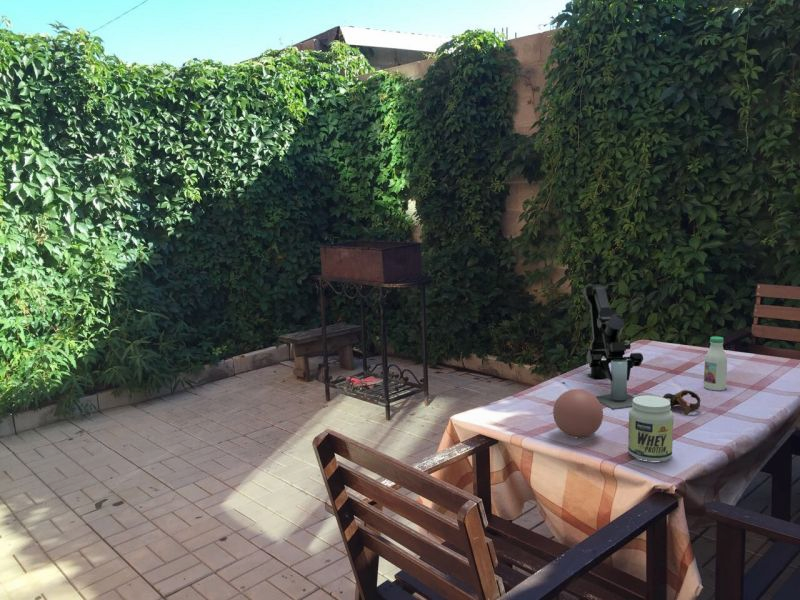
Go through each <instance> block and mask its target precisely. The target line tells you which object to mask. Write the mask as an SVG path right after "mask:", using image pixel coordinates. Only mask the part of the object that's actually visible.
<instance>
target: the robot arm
mask: <svg viewBox="0 0 800 600" xmlns="http://www.w3.org/2000/svg"><path fill="white" fill-rule="evenodd" d="M582 292H583V296H584V298H585V303H587V305H588V306H589V310H590V311H589V312H590V323H591V324H590V325H591V335H592V341H591V343H590V345H589V348H588V351H587V354H586V362H587V363H588V365H589V366H588V367H589V368H590V373H588V374H587V376H588V375H589V377H590V376H591V378H592V377H593V379H594V378H595V379H594V380H599V379H598V378H601V379H607V378H608V380H609V381H610V382H611V381H612V375H611V367H610V364H611V360H614V359H622V360H626V361H627V382H629V380H630V375H631V369H632V368H634V367H640V366H641V364H642V363H643V361H644V355H643V354H642V353H641V352H631V353H630V355H629V356H625V352H627V350H630V349H632V348H631V342H630V339H629V340H628V339H627V340H625V339H624V340H623V341H621V339H620V336H621V334H622V332H623V329H624V327H625V322H624V320H623V319H622V318H620V317H618V314H616V312H615V311H614V310H613V309H612V308H611V306H610V302H609V299H608V296H607V286H605V285H602V284H586V286H585V287H583V291H582Z"/></svg>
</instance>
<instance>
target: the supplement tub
mask: <svg viewBox="0 0 800 600" xmlns="http://www.w3.org/2000/svg"><path fill="white" fill-rule="evenodd" d="M634 397H635V398H633V403H632V406H633V407H630V409H629V410H628V438H627V439H628V442H627V443H628V444H627V445H628V446H627V450H628V451H627V452H628V454H629V455H630V454H631V455H632V456H634V457H636V458H638V459H642V460H647V461H665V460H667V461H669V460H670V459H671V457H672V455H673V441H674V440H673V439H674V438H673V437H674V413H673V412H672V410H671V409H672V408H671V406H670V399H668V398H667V399H665V398H663V396H662V397H661V396H657V395H639V396H634ZM631 455H630V456H631ZM632 456H631V457H632ZM634 457H633V458H634ZM668 459H669V460H668ZM665 462H666V461H665Z"/></svg>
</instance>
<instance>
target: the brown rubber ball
mask: <svg viewBox="0 0 800 600" xmlns="http://www.w3.org/2000/svg"><path fill="white" fill-rule="evenodd" d="M603 411H604V410H603V407H602V404H601V403H600V402H599V400H598V399H597V398H596V397H595V395H594V394H593V393H591V392H589V391H587V390H584V389H582V388H581V389H579V388H575V389H570V390H567V391H565V392H563V393H562V394H560V395H559V396H558V398H557V399H556V400H555V402H554V405H553V410H552V416H553V420H554V422H555V424H556V426H557V428H558V429H559V430H560V431H561V432H562V433H564V434H565V435H567V436H568V437H570V438H571V437H572V438H574V437H577V438H576V439H581V438H582V439H584V438H587V437H588V438H589V437H590V436H592V435H593V434H595V433H596V432H597V431H598V430H599V429H600V427H601V425H602V424H603V423H602V422H603V418H604V412H603Z"/></svg>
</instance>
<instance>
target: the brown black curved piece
mask: <svg viewBox="0 0 800 600" xmlns="http://www.w3.org/2000/svg"><path fill="white" fill-rule="evenodd" d="M687 395H690V396H691V397H690V398H693V399H696V401H697V402H696V403H690V404H689V405H688V402H687V401H686V400H685V399H684V398H683V397H686V396H687ZM662 398H665V399H667V400H669V401H670V406H671V409H673V407H674V406H682V407H683V408H684V410H683V411H682V413H683V414H684V415H686V416H688V415H689V414H690V413H694V412H696V411H697V410H699V409H700V407H701V398H700V397H699V395H698V394H697V393H695V392H694V391H692V390H689V389H688V390H687V389H683V390H680V391H679V392H676V393H674V394H672V393H669V392H668V393H664V395H663V396H662Z"/></svg>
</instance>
